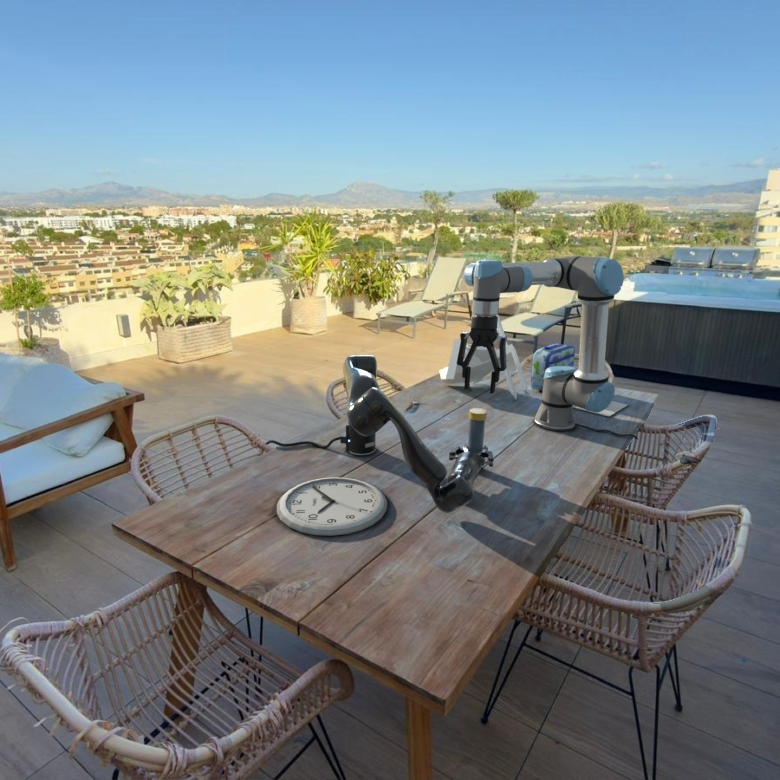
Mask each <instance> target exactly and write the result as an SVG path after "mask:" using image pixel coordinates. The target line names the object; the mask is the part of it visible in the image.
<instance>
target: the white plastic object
mask: <svg viewBox="0 0 780 780" xmlns="http://www.w3.org/2000/svg"><path fill="white" fill-rule="evenodd" d="M496 316H497V317H498V323H497V332H498V335H500V336H503V337H504V336H506V334H505V331H504V328H503V325H502V321H501V318H500V315H499V313H498V314H497V315H496ZM460 343H461V338H460V339H458V338H454V340H453V344H452V349H451V353H450V357H449V362H448V366H446V367H444V368H442V369H440V370H439V371H438V372H439V376H440V381H442V383H443V384H444V385H445V386H449V385H458V384H465V378H463V377H462V366H460V365H457V358H458V353H459V348H460ZM505 345H506V364H507V368H506V369H505V370H504V371H503V373H504V376H505V380H506V383H507V386H508V390H509V393H510V394H511V395H512V397H513V398H514V399H515V400H517V392H516V391H517V390H516V388H515V385H514V381H513V378H512V375H511V371H510V369H509V365H508V361H510V360H513V363H514V366H515V369H516V372H517V376H518V380H519V382H520V385H521V389H522V391H523V393H524V395H525V396H526V397H528V396H531V395H530V390H529V388H528V387H529V386H528V384H527V381H526V378H525V375H524V371H523V369H522V368H523V367H522V366H521V362H520V359H519V355H518V352H517V349H516V347H515V346H514V345H513V343H511V344H508V340H507V341H506V344H505ZM470 348H471V346H469V345H468V343H467V344H466V349H465V354H464V359H463V361H465V358H466V356H467V354H468V352H469V350H470ZM495 352H496V355H497V358H498V362H499V365H500V351H499V348H498V349H495ZM468 367H471V371H470V383H473V384H477V383H480V382H482V381H484V378H485V377H486V376H487V375H489V374H490V373H492V371H494V368H493V365H492V361H491V358H490V355H489V352H488V350H487V347H483V346H480V347H477V348H476V350H475V352H474V355H473V357H472V359H471V361H470V363H469V365H468Z"/></svg>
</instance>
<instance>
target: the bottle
mask: <svg viewBox="0 0 780 780" xmlns="http://www.w3.org/2000/svg"><path fill="white" fill-rule="evenodd" d="M468 426H469V427H468V441H467V443H468V452H473V453H476V452H478V451H482V449H483V447H484V442H485V441H484V438H485V429H486V427H485V426H486V419H485V420H482V421H476V420H472V419H470V418H469V425H468ZM482 467H483V466H482ZM482 467H481V469H480V472H481V471H482V469H483V468H482Z"/></svg>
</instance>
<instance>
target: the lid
mask: <svg viewBox="0 0 780 780" xmlns="http://www.w3.org/2000/svg"><path fill="white" fill-rule="evenodd" d="M468 412H469V413H468V418H469V420H470V419H472V420H476V421H482V420H485V421H486V420H487V415H488V411H487V410H486V409H484V408H478V407H473V408H470V409H469V410H468Z"/></svg>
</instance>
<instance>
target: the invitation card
mask: <svg viewBox="0 0 780 780" xmlns="http://www.w3.org/2000/svg"><path fill="white" fill-rule="evenodd" d="M628 406H629V404H627V403H623V402H618V401H614V400H612V401H611V403H610V404H609V406H608V407H607V408H606V409H604V410H603V411H601V412H593V411H587V410H586V409H583V408H580V407H577V406H574V407H573V409H575V410H581V411H584V412H587V413H593V414H596V415H600V416H604V417H608V418H609V417H611V416H613V415H614V414H616V413H617V412H619V411H621V410H623V409H624V408H626V407H628Z"/></svg>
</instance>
